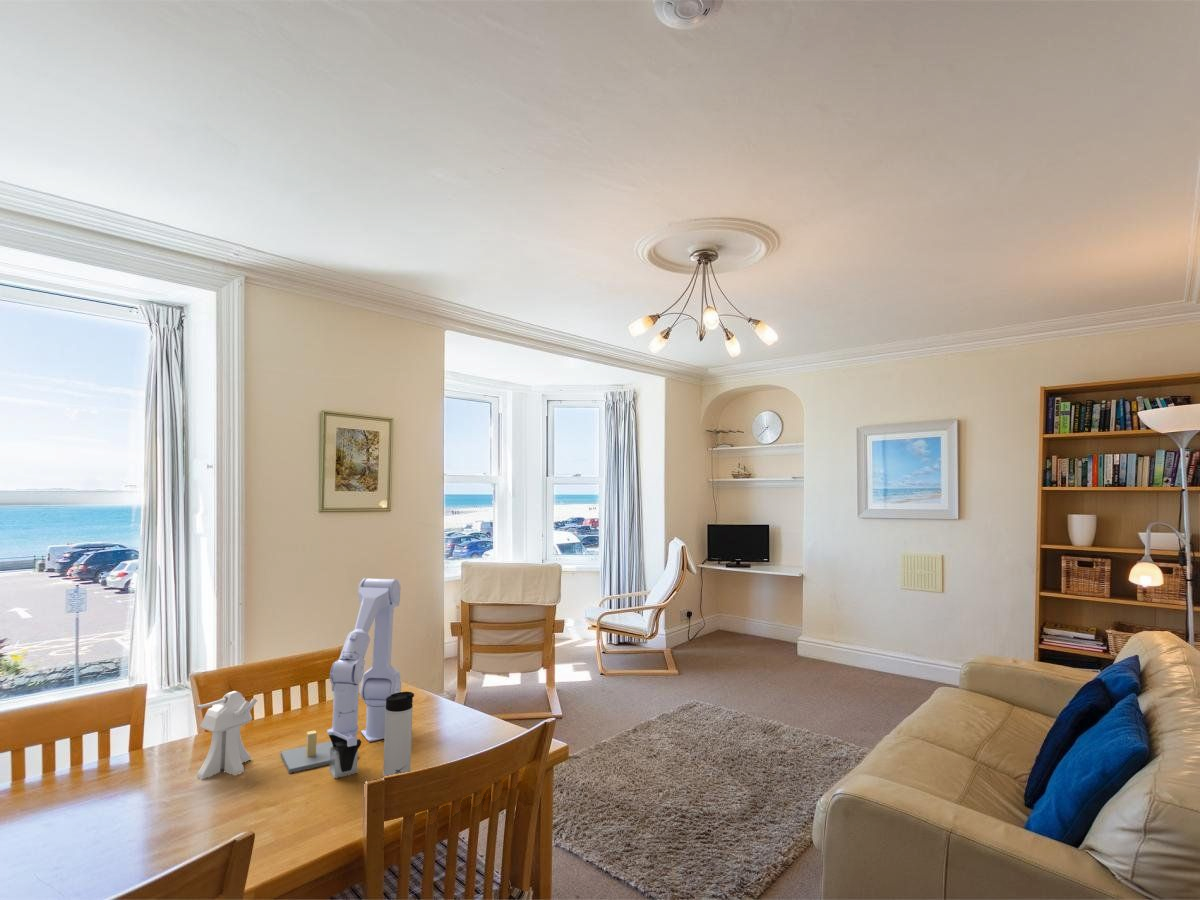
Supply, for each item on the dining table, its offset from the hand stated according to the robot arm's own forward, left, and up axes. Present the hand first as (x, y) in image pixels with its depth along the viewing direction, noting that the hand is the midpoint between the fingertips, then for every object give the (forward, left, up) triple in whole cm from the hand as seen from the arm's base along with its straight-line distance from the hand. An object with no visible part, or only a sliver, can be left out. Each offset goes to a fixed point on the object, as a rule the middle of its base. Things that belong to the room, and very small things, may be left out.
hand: (343, 766), depth 156 cm
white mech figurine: (+24, -17, -2) cm, 29 cm away
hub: (0, 0, -1) cm, 1 cm away
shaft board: (+3, -12, -1) cm, 12 cm away
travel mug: (-10, +10, -2) cm, 14 cm away
